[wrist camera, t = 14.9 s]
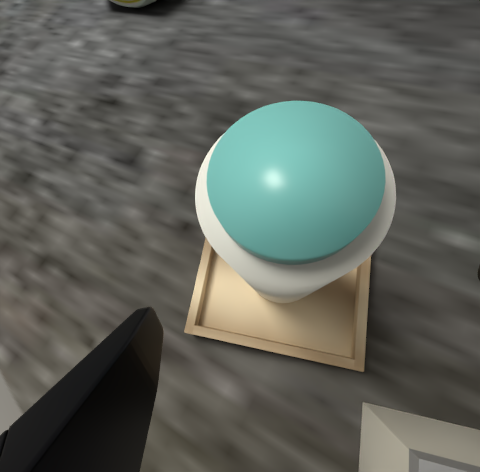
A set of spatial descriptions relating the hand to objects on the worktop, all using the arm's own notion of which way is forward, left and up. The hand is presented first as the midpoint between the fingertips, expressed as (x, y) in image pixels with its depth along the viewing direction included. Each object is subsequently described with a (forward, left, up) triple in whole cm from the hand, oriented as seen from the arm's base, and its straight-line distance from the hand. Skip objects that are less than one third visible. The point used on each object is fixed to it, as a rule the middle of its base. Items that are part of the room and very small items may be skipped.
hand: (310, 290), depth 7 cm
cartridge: (+3, +1, -12) cm, 13 cm away
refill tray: (+3, +1, -13) cm, 13 cm away
